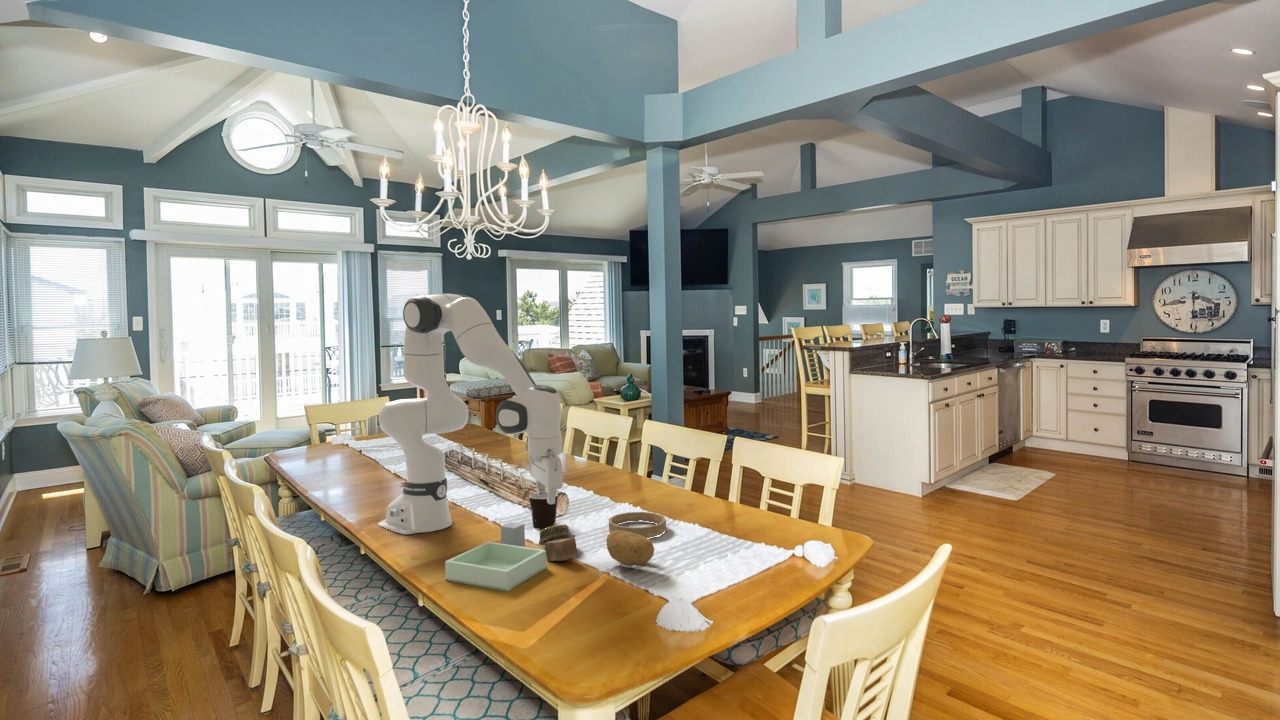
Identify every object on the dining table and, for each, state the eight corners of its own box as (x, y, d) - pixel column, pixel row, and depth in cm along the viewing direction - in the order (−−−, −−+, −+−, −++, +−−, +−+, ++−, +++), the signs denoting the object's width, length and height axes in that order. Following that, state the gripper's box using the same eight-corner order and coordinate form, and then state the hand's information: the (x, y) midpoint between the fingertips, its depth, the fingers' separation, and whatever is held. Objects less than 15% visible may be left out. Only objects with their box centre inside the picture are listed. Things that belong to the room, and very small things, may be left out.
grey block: (501, 552, 172) (500, 526, 172) (511, 547, 177) (510, 522, 176) (515, 554, 171) (514, 528, 170) (524, 549, 175) (524, 523, 174)
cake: (542, 541, 167) (538, 521, 169) (536, 549, 175) (532, 530, 177) (579, 534, 170) (574, 514, 172) (571, 542, 179) (567, 523, 181)
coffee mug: (553, 533, 189) (552, 499, 188) (525, 531, 190) (524, 498, 190) (565, 521, 200) (564, 490, 200) (539, 520, 202) (538, 489, 201)
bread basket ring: (599, 536, 185) (598, 524, 185) (624, 520, 200) (624, 509, 200) (651, 543, 178) (651, 530, 178) (673, 526, 193) (673, 515, 193)
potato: (638, 577, 153) (637, 543, 153) (597, 563, 162) (597, 532, 162) (664, 565, 160) (664, 534, 160) (624, 553, 170) (624, 523, 169)
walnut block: (544, 543, 166) (561, 542, 161) (557, 539, 169) (574, 537, 164) (547, 560, 165) (564, 560, 160) (560, 556, 168) (578, 555, 164)
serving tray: (445, 580, 153) (445, 561, 153) (488, 558, 167) (488, 541, 167) (507, 591, 145) (506, 571, 145) (546, 568, 160) (546, 550, 159)
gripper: (568, 452, 159) (569, 507, 160) (546, 441, 178) (547, 490, 179) (543, 454, 157) (545, 510, 157) (524, 443, 176) (525, 493, 176)
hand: (546, 499), depth 168 cm, fingers open, 8 cm apart
